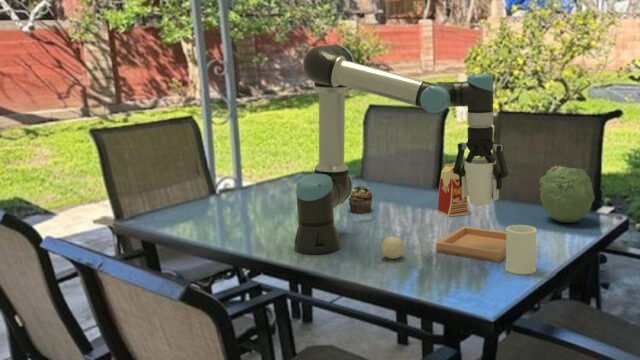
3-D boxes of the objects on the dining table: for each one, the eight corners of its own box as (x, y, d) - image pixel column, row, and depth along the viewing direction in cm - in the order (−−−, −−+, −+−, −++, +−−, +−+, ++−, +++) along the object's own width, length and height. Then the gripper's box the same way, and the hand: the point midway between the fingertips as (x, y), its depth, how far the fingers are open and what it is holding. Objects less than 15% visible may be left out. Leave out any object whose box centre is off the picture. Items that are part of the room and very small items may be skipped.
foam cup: (493, 198, 199) (493, 158, 196) (498, 205, 190) (498, 163, 187) (462, 199, 200) (462, 159, 197) (466, 206, 191) (466, 164, 188)
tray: (498, 262, 184) (498, 252, 184) (436, 251, 196) (436, 242, 195) (521, 243, 200) (522, 234, 199) (463, 234, 212) (463, 226, 211)
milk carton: (469, 213, 237) (469, 161, 232) (448, 217, 233) (448, 164, 229) (456, 208, 245) (455, 158, 241) (435, 211, 242) (435, 160, 237)
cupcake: (375, 207, 252) (374, 183, 250) (370, 214, 243) (369, 189, 241) (351, 207, 254) (350, 183, 252) (346, 213, 245) (345, 188, 243)
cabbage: (584, 231, 209) (587, 172, 204) (529, 222, 221) (531, 167, 217) (601, 220, 220) (603, 164, 216) (548, 212, 233) (549, 159, 228)
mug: (520, 259, 186) (521, 220, 184) (547, 265, 180) (548, 225, 178) (499, 270, 178) (499, 229, 176) (526, 277, 172) (527, 235, 170)
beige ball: (376, 259, 192) (375, 238, 191) (391, 252, 197) (390, 232, 196) (393, 263, 188) (393, 242, 186) (408, 257, 193) (408, 236, 191)
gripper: (520, 125, 186) (519, 198, 191) (451, 123, 199) (452, 191, 204) (511, 128, 180) (510, 204, 185) (441, 126, 193) (442, 196, 198)
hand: (480, 197), depth 195 cm, fingers closed on foam cup, 9 cm apart
